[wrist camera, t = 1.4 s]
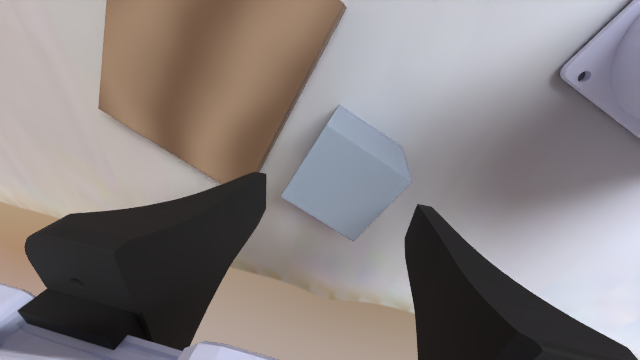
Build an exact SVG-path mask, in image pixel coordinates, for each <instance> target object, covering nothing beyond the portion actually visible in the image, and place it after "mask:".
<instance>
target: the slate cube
mask: <svg viewBox="0 0 640 360" xmlns="http://www.w3.org/2000/svg"><path fill="white" fill-rule="evenodd" d="M411 182H412V181H411V177H410V173H409V170H408V166H407V162H406V159H405V155H404V151H403V148H402V147H401V146H400V145H398V144H397V143H396V142H394V141H393V140H391V139H390V138H388V137H387V136H385V135H384V134H382V133H381V132H379V131H378V130H376V129H375V128H373V127H372V126H370V125H369V124H367V123H366V122H365V121H363V120H362V119H360V118H359V117H357V116H356V115H354V114H353V113H351V112H350V111H348V110H347V109H345V108H344V107H342V106H341V105H339V106H338V108H337V109H336V111H335V112H334V114H333V115H332V117H331V119H330V120H329V122H328V123H327V125H326V126H325V128H324V129H323V131H322V133H321V134H320V136H319V137H318V139H317V140H316V142H315V144H314V145H313V147H312V148H311V150H310V151H309V153H308V155H307V156H306V158H305V159H304V161H303V162H302V164H301V166H300V167H299V169H298V170H297V172H296V173H295V175H294V177H293V178H292V180H291V181H290V183H289V185H288V186H287V188H286V189H285V191H284V192H283V194H282V196H281V197H282V198H284V199H286V200H287V201H289V202H290V203H292V204H294V205H295V206H297V207H298V208H300V209H302V210H303V211H305V212H307V213H308V214H310V215H311V216H313V217H315V218H316V219H318V220H319V221H321V222H323V223H324V224H326V225H327V226H329V227H331V228H332V229H334V230H336V231H337V232H339V233H340V234H342V235H344V236H345V237H347V238H348V239H350V240H352V241H354V240H355V239H356V238H357V237H358V236H359V235H360V234H361V233H362V232H363V231H364V230H365V229H366V228H367V227H368V226H369V225H370V224H371V223H372V222H373V221H374V220H375V219H376V218H377V217H378V216H379V215H380V214H381V213H382V212H383V211H384V210H385V208H386V207H387V206H388V205H389V204H390V203H391V202H392V201H393V200H394V199H395V198H396V197H397V196H398V195H399V194H400V193H401V192H402V191H403V190H404V189H405V188H406V187H407V186H408V185H409V184H410V183H411Z"/></svg>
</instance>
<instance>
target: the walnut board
mask: <svg viewBox="0 0 640 360" xmlns="http://www.w3.org/2000/svg"><path fill="white" fill-rule="evenodd" d="M345 9H346V6H345V5H344V3H342V2H341V1H340V0H107V3H106V16H105V29H104V42H103V55H102V69H101V82H100V95H99V108H98V109H100V110H102V111H103V112H105V113H107V114H108V115H110V116H112V117H113V118H115V119H116V120H118V121H120V122H121V123H123V124H125V125H126V126H128V127H130V128H131V129H133V130H135V131H136V132H138V133H139V134H141V135H143V136H144V137H146V138H148V139H149V140H151V141H153V142H154V143H156V144H158V145H159V146H161V147H162V148H164V149H166V150H167V151H169V152H171V153H172V154H174V155H176V156H177V157H179V158H181V159H182V160H184V161H186V162H187V163H189V164H190V165H192V166H194V167H195V168H197V169H199V170H200V171H202V172H204V173H205V174H207V175H209V176H210V177H212V178H213V179H215V180H217V181H218V182H220V183H222V184H224V183H227V182H229V181H232V180H234V179H236V178H239V177H241V176H244V175H246V174H249V173H252V172H259V171H260V169H261V167H262V166H263V164H264V162H265V160H266V158H267V156H268V154H269V152H270V150H271V149H272V147H273V145H274V143H275V141H276V139H277V137H278V135H279V134H280V132H281V130H282V128H283V126H284V124H285V122H286V120H287V119H288V117H289V115H290V113H291V111H292V109H293V107H294V105H295V103H296V102H297V100H298V98H299V96H300V94H301V92H302V90H303V88H304V87H305V85H306V83H307V81H308V79H309V77H310V75H311V73H312V71H313V70H314V68H315V66H316V64H317V62H318V60H319V58H320V56H321V55H322V53H323V51H324V49H325V47H326V45H327V43H328V41H329V40H330V38H331V36H332V34H333V32H334V30H335V28H336V26H337V24H338V23H339V21H340V19H341V17H342V15H343V13H344V11H345Z"/></svg>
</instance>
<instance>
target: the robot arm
mask: <svg viewBox="0 0 640 360" xmlns="http://www.w3.org/2000/svg"><path fill="white" fill-rule="evenodd" d="M582 72H585V77H584V78H583V79H582V80H580V81H578V76H579V75H580V74H581V73H582ZM560 77H561V78H562V79H563V80H564V81H565V82H566V83H568V84H569V85H570V86H572V87H573V88H574V89H576V90H577V91H578V92H579V93H581V94H582V95H583V96H585V97H586V98H587V99H589V100H590V101H591V102H592V103H594V104H595V105H596V106H598V107H599V108H600V109H602V110H603V111H604V112H606V113H607V114H608V115H609V116H611V117H612V118H613V119H615V120H616V121H617V122H619V123H620V124H621V125H622V126H624V127H625V128H626V129H628V130H629V131H630V132H632V133H633V134H634V135H635V136H637V137H638V138H639V139H640V0H633V1H632V2H631V3H630V4H629V5H628V6H627V7H626V8H624V9H623V10H622V11H621V12H620V13H619V14H618V15H617V16H616V17H615V18H614V19H613V20H612V21H611V22H610V23H609V24H608V25H606V26H605V27H604V28H603V29H602V30H601V31H600V32H599V33H598V34H597V35H596V36H595V37H594V38H593V39H592V40H591V41H589V42H588V43H587V44H586V45H585V46H584V47H583V48H582V49H581V50H580V51H579V52H578V53H577V54H576V55H575V56H574V57H573V58H571V59H570V60H569V61H568V62H567V63H566V64H565V65H564V66H563V68H562V69H561V72H560ZM265 209H266V174H264V173H259V172H252V173H249V174H246V175H244V176H241V177H239V178H236V179H234V180H232V181H229V182H227V183H224V184H222V185H219V186H217V187H214V188H211V189H208V190H206V191H203V192H200V193H197V194H194V195H190V196H187V197H183V198H180V199H176V200H172V201H167V202H162V203H157V204H153V205H148V206H142V207H135V208H128V209H121V210H112V211H101V212H89V213H75V214H69V215H67V216H65V217H63V218H61V219H60V220H58V221H56V222H54V223H52V224H50V225H48V226H47V227H45V228H43V229H41V230H39V231H38V232H35V233H34V234H32V235H30V236H29V237H28V238H27V240H26V243H25V252H26V255H27V257H28V259H29V261H30V263H31V264H32V266H33V267H34V269H35V270H36V272H37V274H38V275H39V277H40V278H41V280H42V281H43V283H44V284H45V286H46V287H47V289H46V290H45V291H43V292H42V293H41V294H39V295H38V296H37V297H35V296H34V295H33V294H31V293H30V292H28V291H25V290H22V289H19V288H16V287H12V286H8V285H5V284H2V283H0V360H279V359H276V358H272V357H269V356H265V355H262V354H258V353H254V352H251V351H248V350H244V349H241V348H237V347H234V346H230V345H227V344H222V343H215V342H207V341H203V342H201V343H198V344H195V345H192V346H190V344H191V342H192V340H193V337H194V335H195V333H196V330H197V329H198V326H199V325H200V323H201V320H202V318H203V316H204V314H205V312H206V310H207V308H208V306H209V304H210V302H211V300H212V298H213V296H214V294H215V292H216V290H217V288H218V286H219V285H220V283H221V281H222V279H223V277H224V276H225V274H226V272H227V270H228V268H229V267H230V265H231V263H232V262H233V260H234V259H235V257H236V256H237V254H238V253H239V252H240V250H241V249H242V247H243V246H244V244H245V243H246V241H247V240H248V239H249V237H250V236H251V234H252V233H253V231H254V230H255V228H256V227H257V225H258V224H259V222H260V220H261V218H262V216H263V214H264V212H265ZM405 259H406V265H407V270H408V276H409V281H410V287H411V292H412V297H413V303H414V310H415V319H416V332H417V348H418V360H638V359H637V358H636V357H635V356H634V354H633V353H632V352H631V351H630V350H629V349H628V348H627V347H625V346H623V345H622V344H620V343H618V342H616V341H614V340H612V339H610V338H609V337H607V336H605V335H603V334H601V333H599V332H597V331H596V330H594V329H592V328H590V327H588V326H586V325H584V324H583V323H581V322H579V321H577V320H575V319H574V318H572V317H570V316H569V315H567V314H565V313H564V312H562V311H560V310H559V309H557V308H555V307H554V306H552V305H550V304H549V303H547V302H546V301H544V300H542V299H541V298H539V297H538V296H536V295H535V294H533V293H532V292H530V291H529V290H527V289H526V288H524V287H523V286H521V285H520V284H518V283H517V282H515V281H514V280H513V279H511V278H510V277H509V276H507V275H506V274H504V273H503V272H502V271H501V270H499V269H498V268H497V267H495V266H494V265H493V264H492V263H490V262H489V261H488V260H487V259H485V258H484V257H483V256H482V255H481V254H480V253H478V252H477V251H476V250H475V249H474V248H473V247H472V246H471V245H470V244H468V243H467V242H466V241H465V240H464V239H463V238H462V237H461V236H460V235H459V234H458V233H457V232H456V231H455V230H454V229H453V228H452V227H451V226H450V225H449V224H448V223H447V222H446V221H445V220H444V219H443V218H442V217H441V216H440V215H439V214H438V213H437V212H436V211H435V210H434V209H433V208H432V207H429V206H424V205H419V204H417V207H416V209H415V212H414V215H413V217H412V220H411V223H410V225H409V228H408V231H407V233H406V236H405Z"/></svg>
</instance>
